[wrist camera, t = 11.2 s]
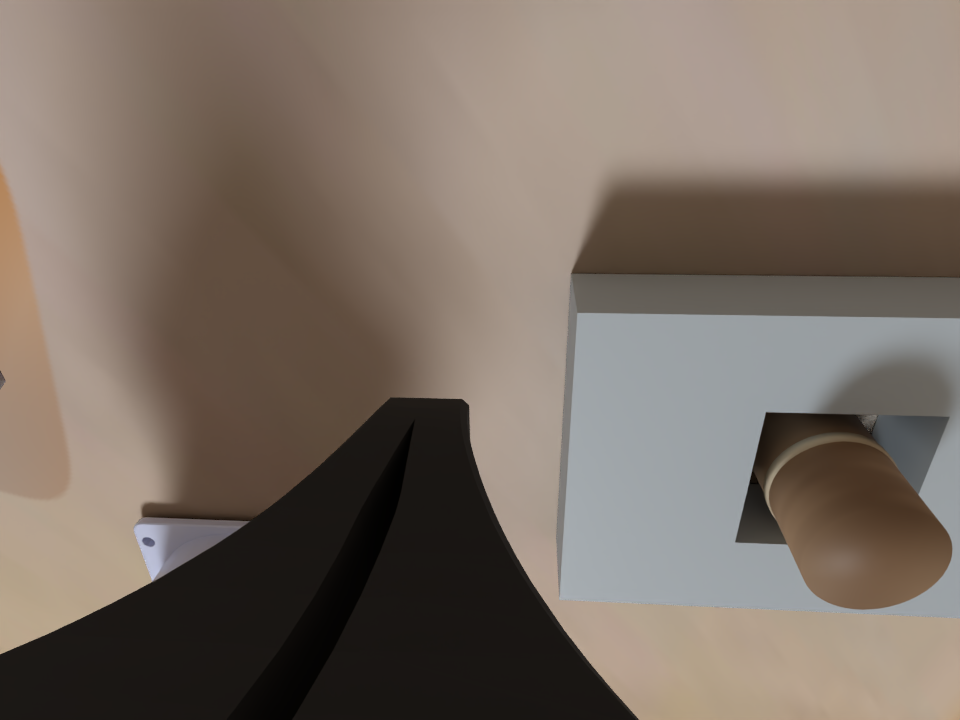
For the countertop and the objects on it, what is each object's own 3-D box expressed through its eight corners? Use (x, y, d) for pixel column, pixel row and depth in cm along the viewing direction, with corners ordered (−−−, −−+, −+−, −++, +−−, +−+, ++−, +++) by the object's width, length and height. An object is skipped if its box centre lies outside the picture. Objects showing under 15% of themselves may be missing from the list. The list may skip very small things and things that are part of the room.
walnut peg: (869, 388, 21) (979, 513, 15) (834, 478, 22) (922, 617, 17) (753, 379, 21) (823, 499, 16) (728, 468, 23) (783, 603, 17)
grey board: (984, 554, 24) (1041, 621, 21) (556, 538, 25) (559, 599, 22) (1121, 279, 18) (1220, 322, 16) (571, 273, 19) (577, 312, 17)
